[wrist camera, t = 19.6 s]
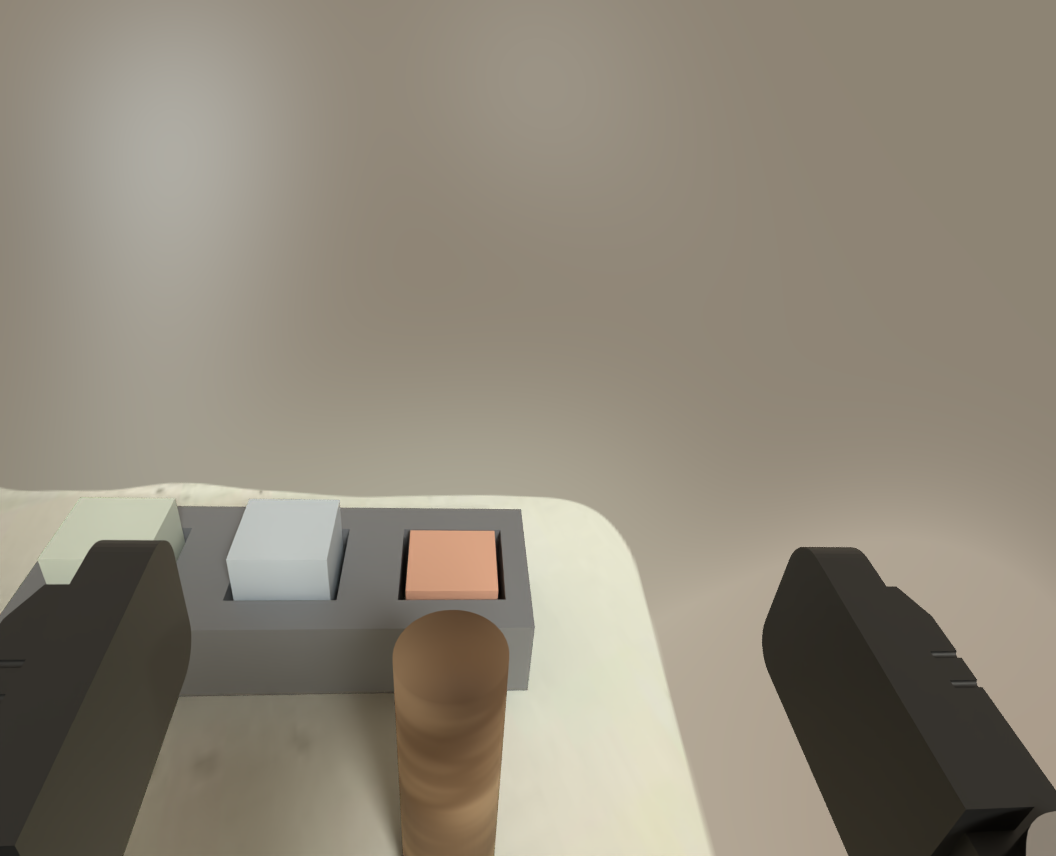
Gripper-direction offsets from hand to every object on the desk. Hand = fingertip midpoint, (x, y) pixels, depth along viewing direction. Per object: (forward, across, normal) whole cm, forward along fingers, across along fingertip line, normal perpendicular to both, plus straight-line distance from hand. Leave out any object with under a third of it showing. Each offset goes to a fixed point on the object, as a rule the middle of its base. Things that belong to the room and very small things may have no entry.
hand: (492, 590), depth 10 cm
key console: (+24, +8, +28) cm, 38 cm away
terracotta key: (+24, -1, +27) cm, 36 cm away
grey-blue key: (+24, +8, +25) cm, 36 cm away
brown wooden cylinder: (+10, 0, +28) cm, 29 cm away
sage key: (+24, +17, +25) cm, 39 cm away
